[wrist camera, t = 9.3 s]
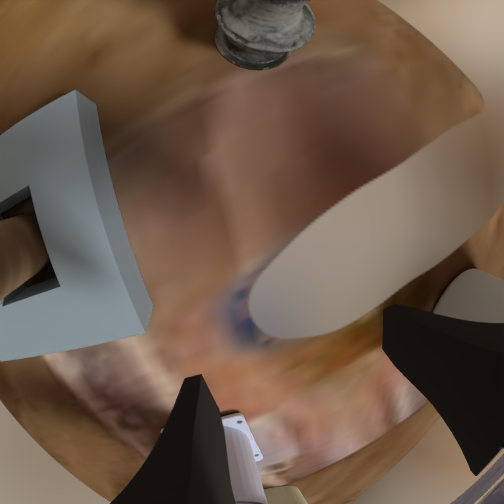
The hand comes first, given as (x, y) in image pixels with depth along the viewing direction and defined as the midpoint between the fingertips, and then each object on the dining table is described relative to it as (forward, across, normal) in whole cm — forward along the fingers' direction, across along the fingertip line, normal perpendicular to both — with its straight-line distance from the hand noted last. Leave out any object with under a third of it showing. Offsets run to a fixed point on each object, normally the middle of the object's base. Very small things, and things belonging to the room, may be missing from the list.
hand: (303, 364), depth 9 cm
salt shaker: (+10, -4, -16) cm, 19 cm away
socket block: (+9, +14, -7) cm, 18 cm away
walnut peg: (+9, +14, -7) cm, 18 cm away
